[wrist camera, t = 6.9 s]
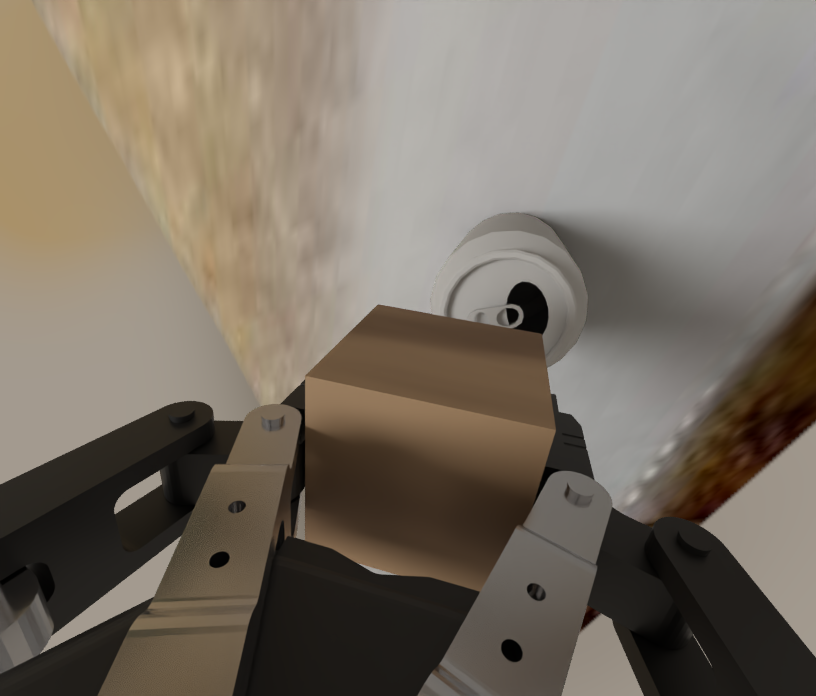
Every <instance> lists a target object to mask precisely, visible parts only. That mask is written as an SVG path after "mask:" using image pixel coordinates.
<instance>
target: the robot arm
mask: <svg viewBox="0 0 816 696" xmlns="http://www.w3.org/2000/svg"><path fill="white" fill-rule="evenodd" d="M551 400H552V406H553V413H554V420H555V427H556V432H555V435H554V438H553V442H552V445H551V448H550V451H549V455H548V458H547V461H546V465H545V468H544V471H543V474H542V478H541V481H540V484H539V488H538V491H537V494H536V497H535V501H534V504H533V507H532V510H531V511H530V513H529V515H528V517H527V519H526V521H525V523H524V524H523V526H522V525H521V524H519V525H518V526H517V527H516V529H515V530H514V532H513V534H512V536H511V538H510V539H509V541H508V543H507V545H506V547H505V548H504V550H503V552H502V554H501V556H500V557H499V559H498V561H497V563H496V565H495V566H494V568H493V570H492V572H491V573H490V575H489V577H488V579H487V581H486V582H485V584H484V586H483V588H482V590H481V591H476V590H473V589H470V588H466V587H463V586H459V585H456V584H452V583H449V582H445V581H442V580H439V579H435V578H432V577H422V576H401V575H381V574H376V573H373V572H371V571H369V570H368V569H366V568H364V567H362V566H361V565H359V564H357V563H356V562H354V561H352V560H351V559H349V558H347V557H346V556H344V555H342V554H340V553H339V552H337V551H335V550H334V549H332V548H328V547H325V546H322V545H318V544H315V543H311V542H308V541H304V540H301V539H297V538H296V535H297V528H298V522H299V515H300V508H301V502H302V490H303V489H304V487H305V380H304V381H303V382H302V383H301V385H299V386H298V387H297V388H296V389H295V390H294V391H293V392H292V393H291V394H290V395H289V396H288V397H287V398H286V399H285V400H284V401H283V402H282V403H281V404H270V405H264V406H261V407H258V408H256V409H254V410H252V411H251V412H249V413H248V414H247V415H246V417H245V419H244V421H214V416H213V410H212V408H211V407H210V406H209V405H207V404H205V403H202V402H196V401H184V402H178V403H174V404H170V405H167V406H165V407H163V408H161V409H159V410H157V411H155V412H152V413H150V414H148V415H146V416H144V417H142V418H140V419H138V420H136V421H133V422H131V423H129V424H127V425H125V426H123V427H121V428H119V429H116V430H114V431H112V432H110V433H108V434H106V435H104V436H102V437H100V438H97V439H95V440H93V441H91V442H89V443H87V444H85V445H83V446H81V447H79V448H76V449H75V450H72V451H70V452H68V453H66V454H64V455H62V456H60V457H57V458H55V459H53V460H51V461H49V462H47V463H45V464H43V465H41V466H39V467H36V468H34V469H32V470H30V471H28V472H26V473H24V474H22V475H20V476H17V477H16V478H13V479H11V480H9V481H7V482H5V483H3V484H1V485H0V696H561V695H562V692H563V688H564V685H565V681H566V677H567V674H568V670H569V667H570V663H571V660H572V656H573V653H574V649H575V646H576V642H577V639H578V635H579V632H580V628H581V625H582V621H583V617H584V614H585V610H586V607H587V605H588V606H590V607H592V608H593V609H595V610H597V611H599V612H600V613H602V614H604V615H605V616H607V617H609V618H611V619H612V621H613V625H614V628H615V631H616V633H617V635H618V637H619V640H620V642H621V644H622V647H623V649H624V651H625V653H626V656H627V658H628V660H629V663H630V665H631V667H632V669H633V672H634V674H635V676H636V679H637V681H638V683H639V685H640V688H641V690H642V692H643V694H644V696H816V657H815V656H814V655H813V654H812V652H811V651H810V650H809V649H808V648H807V646H806V645H805V644H804V643H803V642H802V640H801V639H800V638H799V636H798V635H797V634H796V633H795V632H794V630H793V629H792V628H791V627H790V626H789V624H788V623H787V622H786V620H785V619H784V618H783V617H782V616H781V614H780V613H779V612H778V611H777V609H776V608H775V607H774V606H773V605H772V603H771V602H770V601H769V600H768V598H767V597H766V596H765V595H764V593H763V592H762V591H761V590H760V589H759V587H758V586H757V585H756V584H755V583H754V581H753V580H752V579H751V577H750V576H749V575H748V574H747V572H746V571H745V570H744V569H743V568H742V566H741V565H740V564H739V563H738V561H737V560H736V559H735V558H734V556H733V555H732V554H731V553H730V552H729V550H728V549H727V548H726V547H725V546H724V544H723V543H722V542H721V541H720V540H719V539H717V538H716V537H715V536H714V535H713V534H711V533H710V532H708V531H707V530H705V529H704V528H702V527H700V526H699V525H697V524H695V523H692V522H690V521H687V520H684V519H681V518H676V517H664V518H661V519H658V520H657V521H656V522H655V524H654V526H653V528H651V527H649V526H647V525H645V524H642V523H640V522H638V521H636V520H634V519H632V518H629V517H628V516H626V515H624V514H622V513H620V512H619V511H617V510H616V509H614V508H613V507H612V499H611V497H610V495H609V493H608V492H607V491H606V489H605V488H604V487H603V486H602V485H600V484H599V483H598V482H596V481H595V480H594V476H593V472H592V468H591V464H590V460H589V456H588V452H587V450H586V444H585V440H584V435H583V431H582V427H581V425H580V424H579V423H578V422H577V421H576V420H575V418H574V417H573V416H572V415H570V414H566V413H561V412H559V411H558V405H557V399H556V395H555V394H551ZM159 470H160V474H161V480H162V485H160V486H159V487H157V488H156V489H154V490H153V491H151V492H149V493H148V494H146V495H145V496H144V497H142V498H140V499H138V500H137V501H136V502H134V503H132V504H131V505H129V506H128V507H126V508H125V509H123V510H121V511H120V512H118V513H117V514H114V507H115V504H116V502H117V500H118V498H119V497H120V496H121V495H122V494H123V493H124V492H125V491H126V490H128V489H129V488H131V487H133V486H134V485H136V484H137V483H139V482H141V481H143V480H144V479H146V478H148V477H149V476H151V475H153V474H154V473H156V472H158V471H159ZM181 535H182V536H181ZM180 536H181V538H180V541H179V543H178V545H177V547H176V549H175V552H174V554H173V557H172V558H171V561H170V563H169V565H168V567H167V569H166V572H165V574H164V576H163V578H162V581H161V583H160V585H159V587H158V589H157V592H156V594H155V596H154V597H153V598H151V599H149V600H147V601H145V602H143V603H141V604H139V605H137V606H135V607H133V608H131V609H129V610H127V611H125V612H123V613H121V614H119V615H117V616H115V617H113V618H111V619H109V620H107V621H105V622H103V623H101V624H99V625H97V626H95V627H93V628H91V629H89V630H87V631H85V632H83V633H81V634H79V635H77V636H75V637H73V638H71V639H69V640H67V641H65V642H63V643H61V644H59V645H57V646H55V647H53V648H51V649H49V650H47V651H45V652H43V653H41V652H42V650H43V649H44V647H45V646H46V645H47V643H48V641H49V639H50V638H51V636H52V635H53V634H55V633H56V632H57V631H59V630H60V629H61V628H62V627H64V626H65V625H66V624H68V623H69V622H70V621H71V620H73V619H74V618H75V617H76V616H78V615H79V614H81V613H82V612H83V611H84V610H86V609H87V608H88V607H89V606H91V605H92V604H93V603H95V602H96V601H97V600H99V599H100V598H101V597H103V596H104V595H105V594H106V593H108V592H109V591H110V590H112V589H113V588H114V587H115V586H117V585H118V584H119V583H121V582H122V581H123V580H124V579H126V578H127V577H128V576H130V575H131V574H132V573H133V572H135V571H136V570H137V569H139V568H140V567H141V566H143V565H144V564H145V563H146V562H148V561H149V560H150V559H151V558H153V557H154V556H156V555H157V554H158V553H159V552H161V551H162V550H163V549H164V548H166V547H167V546H168V545H170V544H171V543H172V542H174V541H175V540H176V539H177V538H178V537H180ZM693 634H694V636H695V638H696V639H697V641H698V642H699V644H700V646H701V648H702V649H703V651H704V653H705V654H706V656H707V658H708V659H709V661H710V663H711V665H712V666H711V665H710V663H709V661H708V660H707V658H706V656H705V655H704V653H703V651H702V650H701V648H700V646H699V645H698V643H697V641H696V639H695V638H694V636H693ZM40 653H41V654H40Z"/></svg>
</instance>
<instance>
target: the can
mask: <svg viewBox="0 0 816 696" xmlns="http://www.w3.org/2000/svg"><path fill="white" fill-rule="evenodd" d="M430 302H431V314H434V315H439V316H445V317H451V318H456V319H462V320H467V321H473V322H479V323H484V324H490V325H495V326H501V327H506V328H512V329H518V330H523V331H529V332H534V333H540V334H542V338H543V344H544V351H545V358H546V365H547V368H548V367H550V366H551V365H553V364H555V363H556V362H558V361H560V360H561V359H562V358H563V357H564V356H565V355H566V353H567V352H568V351H569V350H570V349H571V348H572V347H573V346H574V345H575V343H576V342H577V340H578V338H579V336H580V333H581V331H582V329H583V327H584V324H585V322H586V318H587V305H588V294H587V290H586V287H585V283H584V280H583V276H582V273H581V271H580V269H579V268H578V266H577V265H576V263H575V262H574V260H573V259H572V257H571V255H570V254H569V252H568V251H567V249H566V248H565V246H564V245H563V243H562V241H561V240H560V239H559V237H558V236H557V235H556V233H555V232H554V231H553V229H552V228H551V227H550V226H549V225H547V224H546V223H544V222H543V221H541V220H540V219H538V218H537V217H534V216H530V215H526V214H522V213H505V214H498V215H496V216H493V217H491V218H488V219H486V220H483V221H482V222H481V223H480V224H478V225H477V226H476V227H475V228H473V229H472V230H471V231H470V232H469V233H468V234H467V235H466V237H465V238H464V239H463V240H462V242H461V243H460V244H459V245H458V246H457V248H456V249H455V250H454V251H453V253H452V254H451V255H450V256H449V258H448V259H447V261H446V262H445V264H444V266H443V267H442V269H441V270H440V272H439V273H438V275H437V276H436V279H435V283H434V287H433V291H432V295H431V298H430Z"/></svg>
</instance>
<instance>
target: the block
mask: <svg viewBox="0 0 816 696" xmlns="http://www.w3.org/2000/svg"><path fill="white" fill-rule="evenodd" d="M555 432H556V427H555V420H554V413H553V406H552V400H551V393H550V386H549V379H548V372H547V365H546V358H545V351H544V344H543V338H542V334H540V333H534V332H529V331H523V330H518V329H512V328H506V327H501V326H495V325H490V324H484V323H479V322H473V321H467V320H462V319H456V318H451V317H445V316H439V315H434V314H428V313H423V312H417V311H412V310H406V309H400V308H395V307H389V306H384V305H377V306H376V307H375V308H374V309H373V310H372V311H371V312H370V313H369V314H368V315H367V316H366V317H365V318H364V319H363V320H362V321H361V322H360V323H359V324H358V325H357V326H356V327H355V328H353V329H352V330H351V331H350V332H349V333H348V334H347V335H346V336H345V337H344V338H343V339H342V340H341V341H340V342H339V343H338V344H337V345H336V346H335V347H334V348H333V349H332V350H331V351H330V352H329V353H328V354H327V355H326V356H325V357H324V358H323V359H322V360H321V361H320V362H319V363H318V364H317V365H316V366H315V367H314V368H313V369H312V370H311V371H310V372H309V373H308V374H307V375H306V376H305V541H308V542H311V543H315V544H318V545H322V546H325V547H328V548H332V549H334V550H335V551H337V552H339V553H340V554H342V555H344V556H346V557H347V558H349V559H351V560H352V561H354V562H356V563H359V564H363V565H366V566H369V567H373V568H376V569H380V570H383V571H386V572H390V573H393V574H397V575H401V576H422V577H432V578H435V579H439V580H442V581H445V582H449V583H452V584H456V585H459V586H463V587H466V588H470V589H473V590H476V591H481V590H482V588H483V586H484V584H485V582H486V581H487V579H488V577H489V575H490V573H491V572H492V570H493V568H494V566H495V565H496V563H497V561H498V559H499V557H500V556H501V554H502V552H503V550H504V548H505V547H506V545H507V543H508V541H509V539H510V538H511V536H512V534H513V532H514V530H515V529H516V527H517V526H518V525H519V524H521V525H522V526H523V524H524V523H525V521H526V519H527V517H528V515H529V513H530V511H531V510H532V507H533V504H534V501H535V497H536V494H537V491H538V488H539V484H540V481H541V478H542V474H543V471H544V468H545V465H546V461H547V458H548V455H549V451H550V448H551V445H552V442H553V438H554V435H555Z"/></svg>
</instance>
